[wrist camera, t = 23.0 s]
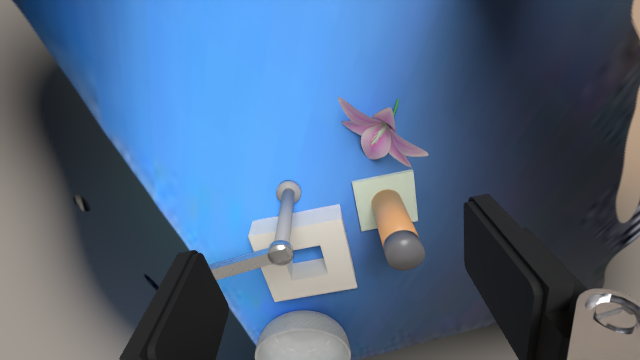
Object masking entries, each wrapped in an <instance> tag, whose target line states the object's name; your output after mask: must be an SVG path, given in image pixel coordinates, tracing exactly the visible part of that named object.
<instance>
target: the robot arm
mask: <svg viewBox="0 0 640 360" xmlns="http://www.w3.org/2000/svg"><path fill="white" fill-rule="evenodd" d="M464 262H465V267H466V270H467V272H468V274H469V276H470V277H471V279H472V281H473V282H474V284H475V286H476V287H477V289H478V291H479V293H480V294H481V296H482V298H483V299H484V301H485V303H486V305H487V306H488V308H489V310H490V311H491V313H492V315H493V316H494V318H495V320H496V322H497V323H498V325H499V327H500V328H501V330H502V332H503V333H504V335H505V337H506V339H507V340H508V342H509V344H510V345H511V347H512V349H513V350H514V352H515V354H516V356H517V357H518V359H519V360H640V301H639V300H637V299H635V298H633V297H631V296H629V295H627V294H624V293H621V292H618V291H614V290H609V289H591V290H588V289H587V288H586V287H585V286H584V285H583V284H582V283H581V282H580V281H579V280H578V279H577V278H576V277H575V276H574V275H573V274H572V273H571V272H570V271H569V270H568V269H567V268H566V267H565V266H564V265H563V264H562V263H561V262H560V261H559V260H558V259H557V258H556V257H555V256H554V255H553V254H552V253H551V252H550V251H549V250H548V249H547V248H546V247H545V246H544V245H543V243H542V242H541V241H540V240H539V239H538V238H537V237H536V236H535V235H534V234H533V233H532V232H531V231H529V230H528V229H526V228H521V227H520V226H519V225H518V224H517V223H516V222H515V221H514V220H513V219H512V218H511V217H510V216H509V215H508V214H507V213H506V212H505V211H504V210H503V209H502V207H501V206H500V205H499V204H498V203H497V202H496V201H495V200H494V199H493V198H492V197H491V196H490V195H489V194H484V195H479V196H473V197H470V198H469V201H468V202H465V203H464ZM228 312H229V307H228V303H227V301H226V299H225V297H224V295H223V293H222V291H221V289H220V287H219V285H218V283H217V281H216V279H215V277H214V275H213V273H212V271H211V269H210V267H209V265H208V263H207V261H206V260H205V258H204V256H203V254H202V253H198V252H197V251H196V250H192V251H186V252H182V253H179V254H178V255H177V256H176V258H175V259H174V261H173V263H172V265H171V267H170V269H169V270H168V272H167V274H166V276H165V277H164V279H163V281H162V283H161V285H160V286H159V288H158V290H157V292H156V294H155V295H154V297H153V299H152V301H151V303H150V304H149V306H148V308H147V310H146V312H145V313H144V315H143V317H142V319H141V320H140V322H139V324H138V326H137V328H136V330H135V331H134V333H133V335H132V337H131V338H130V340H129V342H128V344H127V346H126V348H125V349H124V351H123V353H122V355H121V356H120V360H216V356H217V352H218V349H219V345H220V342H221V338H222V335H223V331H224V327H225V324H226V320H227V317H228Z"/></svg>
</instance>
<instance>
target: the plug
mask: <svg viewBox="0 0 640 360" xmlns="http://www.w3.org/2000/svg"><path fill="white" fill-rule="evenodd" d="M371 205H372V209H373V213H374V216H375V220H376V224H377V227H378V231H379V234H380V238H381V242H382V245H383V249H384V252H385V256H386V260H387V262H388V264H389V265H390V266H391V267H392V268H394V269H397V270H410V269H413V268H415V267H417V266H418V265H419V264H420V263H421V262H422V261H423V259H424V257H425V250H424V248H423V245H422V243H421V241H420V239H419V236H418V234H417V232H416V230H415V227H414V225H413V223H412V221H411V218H410V216H409V214H408V212H407V210H406V207H405V205H404V203H403V201H402V198H401V196H400V195H399V193H397V192H396V191H394V190H389V189H388V190H382V191H380V192H378V193H377V194H376V195H375V196H374V197H373V199H372V202H371Z"/></svg>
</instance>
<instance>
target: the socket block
mask: <svg viewBox="0 0 640 360" xmlns="http://www.w3.org/2000/svg"><path fill="white" fill-rule="evenodd" d="M276 194H277V197H278V199H279V200H280V201H281V205H280V211H279V216H275V217H270V218H265V219H260V220H255V221H252V225H251V228H250V232H249V235H248V238H249V240H250V243H251V245H252V247H253V250H254V252H255V251H259V250H262V249H266V248H269V246H270V244H271V243H273V242H274V241H278V240H283V241H287V242H289V243H290V244H291V245H292V247H293V250H298V249H303V248H308V247H314V246H319V245H320V246H321V249H322V253H323V257H324V258H320V259H315V260H309V261H304V262H298V263H293V261H291V262H290V263H288V264H287V265H282V266H279V265H275V264H271V265H268V266H264V267H261V270H262V272H263V275H264V277H265V279H266V282H267V284H268V287H269V289H270V292H271V294H272V297H273V299H274V302H278V301H284V300H290V299H296V298H301V297H307V296H313V295H319V294H325V293H330V292H336V291H342V290H348V289H354V288H357V283H356V276H355V270H354V266H353V261H352V257H351V252H350V248H349V243H348V239H347V235H346V230H345V226H344V221H343V217H342V212H341V208H340V204H337V205H332V206H326V207H321V208H316V209H311V210H306V211H301V212H296V213H293V206H294V203H295V202H297V201H298V200H299V198H300V196H301V188H300V186H299V185H298V184H297V183H296V182H294V181H291V180H286V181H283V182H281V183H280V184H279V185H278V187H277V192H276Z"/></svg>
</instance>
